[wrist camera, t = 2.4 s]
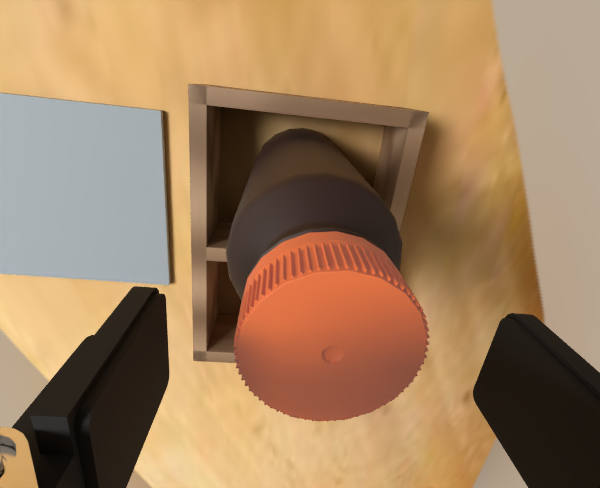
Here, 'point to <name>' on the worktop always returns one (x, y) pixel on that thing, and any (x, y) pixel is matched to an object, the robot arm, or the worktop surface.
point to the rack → (205, 186)
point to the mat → (82, 191)
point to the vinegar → (320, 285)
